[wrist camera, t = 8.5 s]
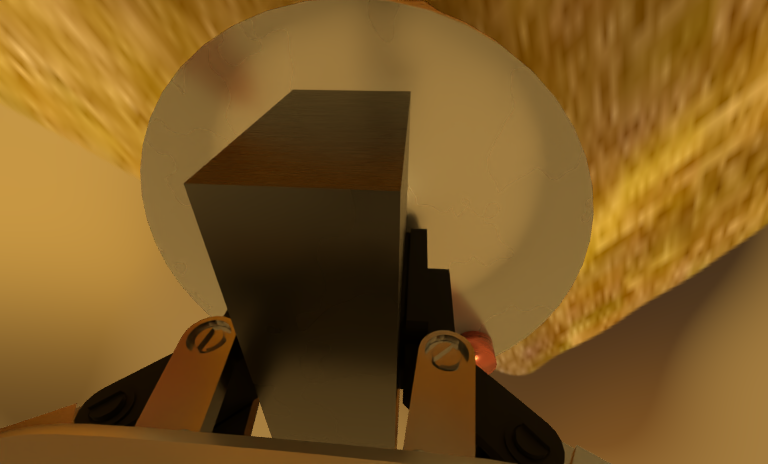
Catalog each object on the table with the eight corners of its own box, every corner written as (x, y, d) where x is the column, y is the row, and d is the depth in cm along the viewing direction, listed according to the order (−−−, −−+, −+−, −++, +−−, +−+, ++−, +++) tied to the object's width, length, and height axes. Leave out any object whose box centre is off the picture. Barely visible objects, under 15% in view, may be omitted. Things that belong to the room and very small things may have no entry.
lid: (120, -6, 12) (-320, 18, 5) (629, -7, 10) (1026, 20, 4) (234, 326, 20) (138, 504, 13) (519, 344, 19) (574, 549, 12)
